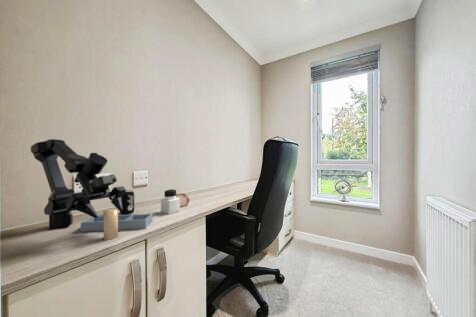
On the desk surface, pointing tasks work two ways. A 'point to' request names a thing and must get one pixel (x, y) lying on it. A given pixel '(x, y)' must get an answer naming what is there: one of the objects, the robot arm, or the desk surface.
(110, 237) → the pin
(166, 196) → the medicine bottle
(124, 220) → the blue-grey compartment tray
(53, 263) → the desk surface
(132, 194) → the beverage can
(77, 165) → the robot arm
